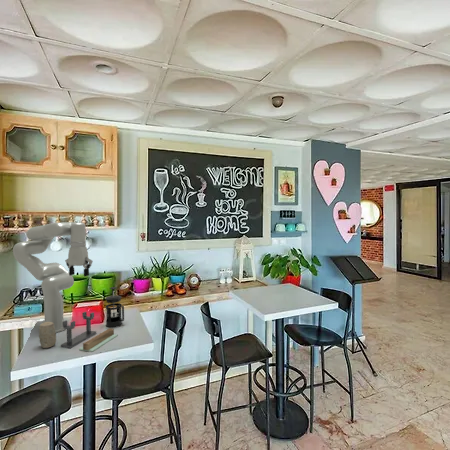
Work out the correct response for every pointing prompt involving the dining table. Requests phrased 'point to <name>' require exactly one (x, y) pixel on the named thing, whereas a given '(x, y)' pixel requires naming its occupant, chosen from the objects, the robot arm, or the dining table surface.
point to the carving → (47, 334)
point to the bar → (98, 339)
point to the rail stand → (81, 337)
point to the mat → (100, 343)
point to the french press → (115, 317)
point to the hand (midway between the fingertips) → (79, 275)
